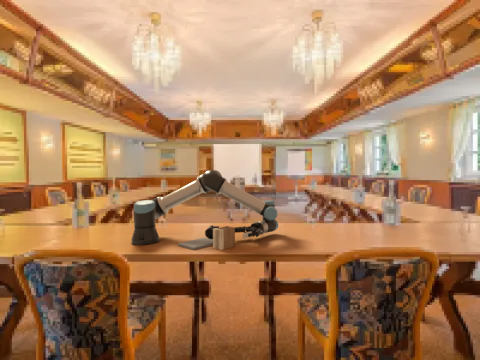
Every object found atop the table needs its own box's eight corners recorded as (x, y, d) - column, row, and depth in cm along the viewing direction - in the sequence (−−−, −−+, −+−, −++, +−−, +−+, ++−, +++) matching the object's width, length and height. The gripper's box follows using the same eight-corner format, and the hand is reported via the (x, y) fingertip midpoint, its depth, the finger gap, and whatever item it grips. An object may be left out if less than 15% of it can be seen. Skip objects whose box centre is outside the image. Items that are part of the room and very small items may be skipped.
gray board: (177, 245, 157) (177, 243, 157) (203, 239, 171) (203, 237, 170) (193, 250, 148) (193, 247, 148) (219, 243, 161) (219, 241, 161)
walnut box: (227, 244, 158) (213, 247, 151) (227, 226, 158) (212, 228, 151) (235, 246, 154) (220, 249, 147) (234, 227, 154) (220, 230, 147)
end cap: (208, 235, 181) (208, 225, 181) (219, 235, 180) (219, 225, 180) (205, 239, 171) (204, 228, 171) (216, 239, 170) (216, 228, 170)
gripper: (276, 237, 164) (251, 244, 149) (243, 231, 181) (218, 237, 166) (275, 224, 164) (251, 230, 148) (243, 219, 181) (218, 224, 165)
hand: (233, 234), depth 157 cm, fingers open, 13 cm apart
